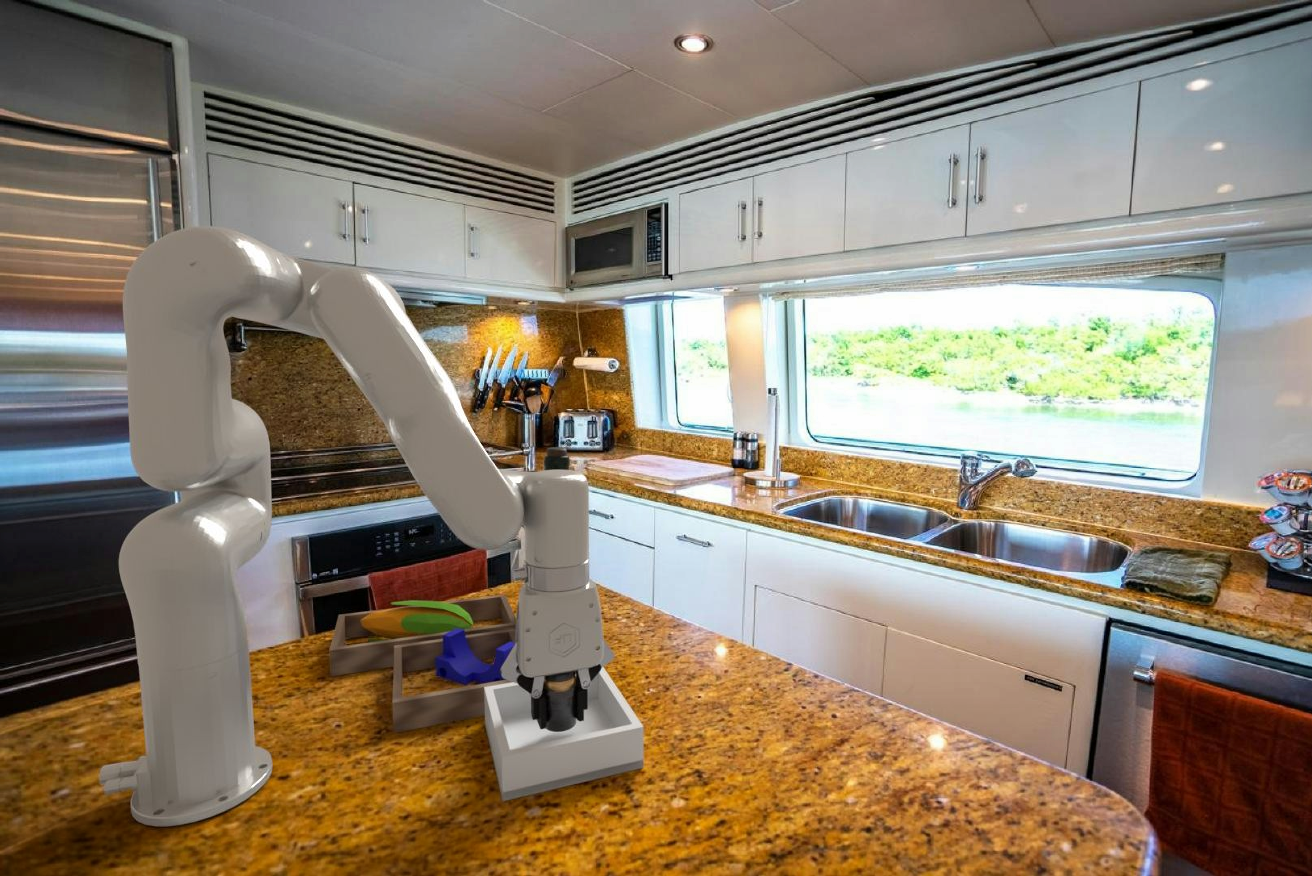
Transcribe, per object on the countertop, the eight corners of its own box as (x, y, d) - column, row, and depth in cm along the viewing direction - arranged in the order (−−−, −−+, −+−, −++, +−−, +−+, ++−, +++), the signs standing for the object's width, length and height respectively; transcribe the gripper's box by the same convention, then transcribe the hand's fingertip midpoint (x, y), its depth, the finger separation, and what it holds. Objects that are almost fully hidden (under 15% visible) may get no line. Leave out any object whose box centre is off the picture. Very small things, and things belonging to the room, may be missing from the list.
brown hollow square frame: (393, 733, 80) (392, 703, 80) (395, 670, 97) (394, 645, 96) (535, 706, 87) (535, 678, 86) (514, 652, 103) (514, 628, 103)
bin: (502, 801, 67) (501, 757, 67) (484, 723, 82) (484, 687, 82) (643, 767, 73) (643, 726, 73) (603, 701, 88) (603, 666, 88)
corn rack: (330, 676, 95) (329, 650, 94) (339, 637, 109) (338, 614, 108) (519, 647, 105) (518, 624, 105) (505, 615, 119) (505, 594, 118)
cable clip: (436, 677, 95) (435, 638, 94) (458, 664, 99) (457, 628, 98) (497, 696, 90) (496, 655, 89) (518, 682, 94) (517, 643, 93)
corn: (462, 611, 100) (345, 604, 103) (461, 658, 101) (345, 650, 103) (480, 598, 108) (371, 592, 110) (480, 642, 108) (371, 635, 111)
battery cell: (546, 735, 75) (545, 673, 74) (539, 717, 79) (538, 658, 78) (580, 728, 76) (579, 667, 75) (572, 711, 80) (571, 653, 79)
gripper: (489, 593, 69) (493, 751, 71) (634, 575, 75) (634, 721, 77) (482, 572, 76) (485, 717, 78) (614, 558, 82) (615, 692, 84)
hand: (559, 718), depth 77 cm, fingers closed on battery cell, 4 cm apart
